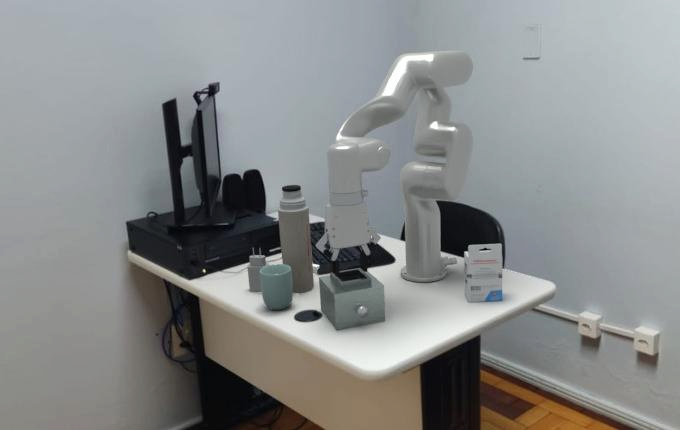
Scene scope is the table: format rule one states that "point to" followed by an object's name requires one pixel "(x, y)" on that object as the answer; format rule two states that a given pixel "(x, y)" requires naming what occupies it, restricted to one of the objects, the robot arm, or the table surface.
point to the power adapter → (255, 271)
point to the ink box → (483, 273)
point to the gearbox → (352, 298)
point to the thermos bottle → (296, 237)
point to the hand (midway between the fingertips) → (350, 271)
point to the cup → (276, 286)
